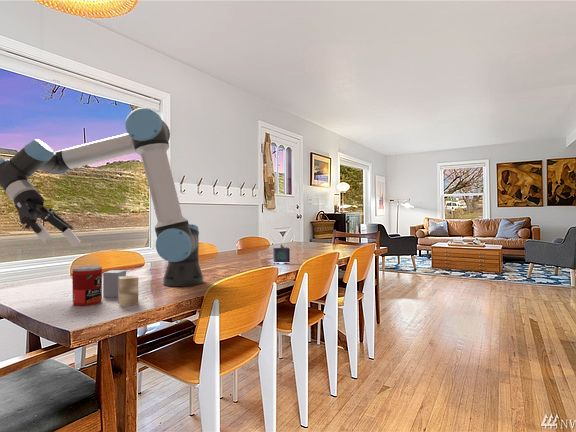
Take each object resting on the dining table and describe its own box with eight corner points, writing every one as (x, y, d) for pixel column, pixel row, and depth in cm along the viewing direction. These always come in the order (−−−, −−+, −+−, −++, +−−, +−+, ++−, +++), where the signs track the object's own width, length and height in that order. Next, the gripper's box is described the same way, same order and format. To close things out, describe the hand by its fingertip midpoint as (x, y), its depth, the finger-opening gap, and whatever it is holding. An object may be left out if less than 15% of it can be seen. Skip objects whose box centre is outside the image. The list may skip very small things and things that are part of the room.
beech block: (135, 300, 107) (135, 275, 107) (138, 304, 103) (138, 277, 103) (118, 302, 105) (118, 276, 105) (120, 306, 100) (120, 279, 100)
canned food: (89, 307, 100) (89, 269, 100) (65, 305, 101) (65, 268, 101) (107, 300, 107) (107, 265, 107) (85, 299, 109) (85, 264, 109)
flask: (272, 264, 189) (272, 244, 189) (273, 263, 192) (273, 244, 192) (289, 264, 188) (289, 244, 188) (290, 263, 191) (290, 244, 191)
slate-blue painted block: (126, 293, 117) (126, 270, 117) (118, 297, 112) (118, 272, 112) (111, 293, 117) (111, 270, 117) (103, 296, 112) (103, 272, 112)
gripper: (45, 211, 126) (79, 253, 122) (-18, 195, 101) (22, 246, 98) (60, 197, 126) (95, 238, 123) (2, 178, 102) (43, 228, 98)
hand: (63, 242), depth 110 cm, fingers open, 13 cm apart
